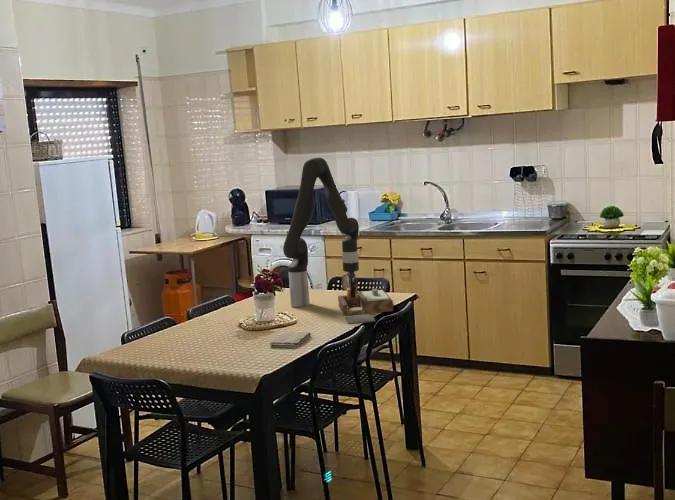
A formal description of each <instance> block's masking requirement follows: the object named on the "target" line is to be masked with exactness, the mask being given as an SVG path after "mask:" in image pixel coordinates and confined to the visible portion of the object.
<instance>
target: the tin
mask: <svg viewBox="0 0 675 500" xmlns="http://www.w3.org/2000/svg"><path fill="white" fill-rule="evenodd" d="M341 286H342V289H343V290H344V291H346V292H347V288H350V287H348V282H347V274H343V275H342V276H341ZM356 288H357V289H358V278H356Z"/></svg>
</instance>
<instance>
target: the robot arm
mask: <svg viewBox="0 0 675 500" xmlns="http://www.w3.org/2000/svg"><path fill="white" fill-rule="evenodd" d="M317 179H318V180H320V182H321V184H322V186H323V188H324V194H325V199H326V202H327V205H328V207H329V209H330V211H331V212H332V215H333V216H334V220H335V223H336V226H337V229H338V230H339V232H340V233H341V234H343V235H344V238H343V240H342V241H341V246H342V247H341V249H342V254H341V257H342V258H341V260H342V261H341V262H342V271H343V272H346V275H347V282H348V287H350V294H351V298H355V289H356V279H357V274H355V272H358V271H360V265H359V263H360V262H359V253H358V239H359V232H360V226H359V225H360V224H359V222H358V220H357V219H356V218H355V217H348V215H347V213H348V207H347V205H346V203H345V202H344V200H343V197H342V196H341V194H340V192H339V190H338V189H337V188H338V187H337V186H336V183H335V181H334V177H333V175H332V173H331V170H330V166H329V165H328V163H327V160H325V158H322V157H313V158H309V159H307V160H306V161H305V162H304V164H303V167H302V172H301V178H300V184H299V189H298V193H297V198H296V202H295V205H294V210H293V214H292V219H291V221H290V225H289V228H288V232H287V234H286V237H285V240H284V242H283V246H282V249H283V250H282V252H283V254H284V256H285V257H286V258H287V259H291V263H289V264H288V266H287V270H288V273H287V274H288V280H289V281H288V282H289V296H290V297H289V298H290V307H292V308H302V307H306V306H310V304H311V303H310V302H311V301H310V292H309V291H310V288H309V278H308V277H309V276H308V265H309V248H308V243H307V241H306V240H305V239H304V238H302V235H303V233H304V231H305V229H306V228H307V226H308V225H309V224H310V222H311V220H312V218H313V215H314V212H315V207H316V199H315V196H314V189H315V185H316V181H317Z"/></svg>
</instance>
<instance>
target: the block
mask: <svg viewBox="0 0 675 500" xmlns="http://www.w3.org/2000/svg"><path fill="white" fill-rule="evenodd" d="M358 294H359V293H358V287H357V288H356V289H355V298H351V294H350V288H347V291H346V295H347V298H348V299H356V298H358Z"/></svg>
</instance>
